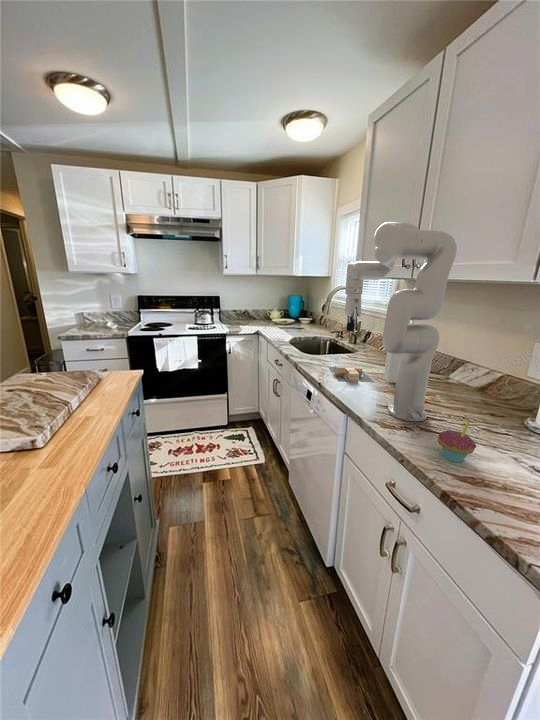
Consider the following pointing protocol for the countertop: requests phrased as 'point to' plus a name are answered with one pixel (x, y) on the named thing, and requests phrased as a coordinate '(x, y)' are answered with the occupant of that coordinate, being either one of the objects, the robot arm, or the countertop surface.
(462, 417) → the countertop surface
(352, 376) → the t block
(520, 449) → the countertop surface
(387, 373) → the milk carton
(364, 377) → the board
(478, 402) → the countertop surface
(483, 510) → the countertop surface
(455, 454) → the cupcake
